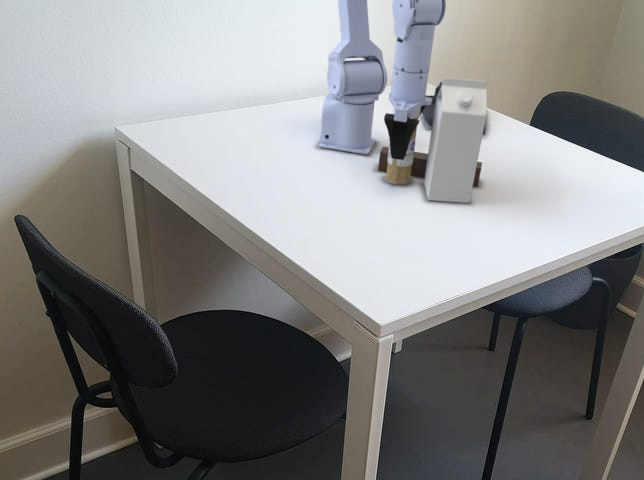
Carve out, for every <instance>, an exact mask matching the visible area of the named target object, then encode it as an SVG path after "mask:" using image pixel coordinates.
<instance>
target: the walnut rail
mask: <svg viewBox="0 0 644 480" xmlns="http://www.w3.org/2000/svg"><path fill="white" fill-rule="evenodd" d="M388 152H389V146H382V147H381V149H380V152H379V158H378V166H377V167H378V168H377V171H378V172H380V173H381V172H382V173H387V166H388ZM427 158H428V153H426V152H420V151H414V156H413V163H412V168H411V176H410V177H412V178H417V179H424V178H425V172H426V165H427ZM482 167H483V162H482V161H477V166H476V171H475V177H474V182H473V187H472V188H478V187H479V182H480V177H481V171H482Z"/></svg>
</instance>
